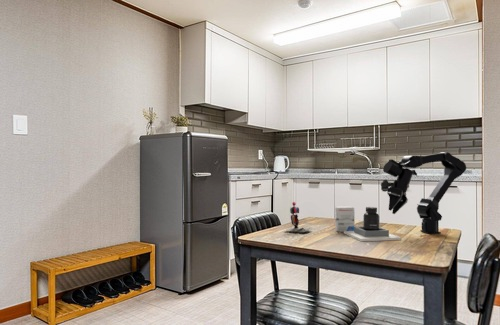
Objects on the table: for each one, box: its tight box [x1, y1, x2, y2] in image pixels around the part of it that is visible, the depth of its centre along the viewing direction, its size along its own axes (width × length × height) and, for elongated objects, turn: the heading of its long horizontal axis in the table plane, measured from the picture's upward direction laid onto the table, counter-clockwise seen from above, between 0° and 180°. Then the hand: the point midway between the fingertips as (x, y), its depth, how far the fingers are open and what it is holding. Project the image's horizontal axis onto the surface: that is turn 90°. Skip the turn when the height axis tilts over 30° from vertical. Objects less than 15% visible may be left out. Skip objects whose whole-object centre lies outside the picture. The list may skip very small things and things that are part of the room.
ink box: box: [334, 206, 356, 233], centre depth 173 cm, size 9×5×12 cm, turn 84°
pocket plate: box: [343, 226, 402, 242], centre depth 159 cm, size 18×18×4 cm
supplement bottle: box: [362, 206, 380, 231], centre depth 159 cm, size 7×7×12 cm
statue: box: [283, 201, 312, 234], centre depth 172 cm, size 11×9×15 cm
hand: (391, 212), depth 163 cm, fingers open, 9 cm apart
